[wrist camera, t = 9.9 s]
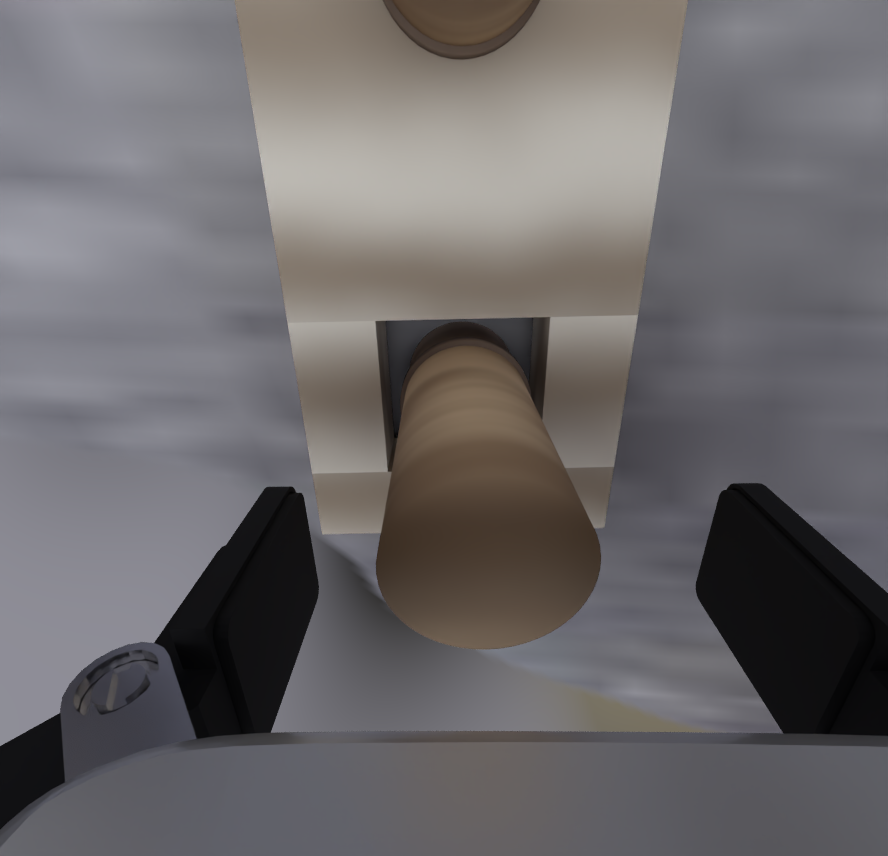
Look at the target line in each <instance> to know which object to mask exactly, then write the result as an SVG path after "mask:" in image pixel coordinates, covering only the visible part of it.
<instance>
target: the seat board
mask: <svg viewBox="0 0 888 856" xmlns="http://www.w3.org/2000/svg"><path fill="white" fill-rule="evenodd" d="M687 2H688V0H235V5H236V11H237V18H238V24H239V30H240V36H241V42H242V48H243V54H244V60H245V66H246V72H247V79H248V85H249V91H250V97H251V103H252V109H253V115H254V121H255V127H256V133H257V140H258V146H259V152H260V158H261V164H262V170H263V176H264V182H265V188H266V194H267V201H268V207H269V213H270V219H271V225H272V231H273V237H274V243H275V249H276V255H277V262H278V268H279V274H280V280H281V286H282V292H283V298H284V304H285V310H286V316H287V323H288V329H289V335H290V341H291V347H292V353H293V359H294V365H295V371H296V377H297V384H298V390H299V396H300V402H301V408H302V414H303V420H304V426H305V432H306V438H307V445H308V451H309V457H310V463H311V469H312V475H313V481H314V487H315V493H316V499H317V506H318V512H319V518H320V524H321V530H322V534H358V533H381V530H382V524H383V518H384V513H385V507H386V501H387V495H388V490H389V484H390V478H391V473H392V467H393V461H394V456H395V450H396V444H397V438H394V429H393V415H392V401H391V388H390V374H389V360H388V347H387V333H386V321H394V320H439V319H484V318H530V317H533V329H532V345H531V361H530V377H529V387H530V391H531V398H532V400H533V402H534V405H535V407H536V409H537V411H538V413H539V415H540V417H541V419H542V421H543V423H544V425H545V427H546V430H547V432H548V434H549V436H550V438H551V440H552V442H553V444H554V446H555V448H556V450H557V452H558V454H559V457H560V459H561V461H562V463H563V465H564V467H565V469H566V471H567V473H568V475H569V477H570V479H571V482H572V484H573V486H574V488H575V490H576V492H577V494H578V496H579V498H580V500H581V502H582V504H583V506H584V509H585V511H586V513H587V515H588V517H589V519H590V521H591V523H592V525H593V527H594V528H604V527H605V520H606V514H607V508H608V502H609V495H610V489H611V483H612V476H613V470H614V464H615V457H616V451H617V445H618V438H619V432H620V426H621V419H622V413H623V407H624V400H625V394H626V388H627V381H628V375H629V369H630V363H631V356H632V350H633V344H634V337H635V331H636V325H637V318H638V312H639V306H640V299H641V293H642V287H643V280H644V274H645V268H646V261H647V255H648V249H649V243H650V236H651V230H652V224H653V217H654V211H655V205H656V198H657V192H658V186H659V179H660V173H661V167H662V160H663V154H664V148H665V141H666V135H667V129H668V122H669V116H670V110H671V104H672V97H673V91H674V85H675V78H676V72H677V66H678V59H679V53H680V47H681V40H682V34H683V28H684V21H685V15H686V9H687Z"/></svg>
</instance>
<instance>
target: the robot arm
mask: <svg viewBox="0 0 888 856" xmlns="http://www.w3.org/2000/svg"><path fill="white" fill-rule="evenodd" d="M318 590H319V585H318V578H317V573H316V566H315V560H314V554H313V549H312V543H311V537H310V531H309V525H308V519H307V513H306V508H305V502H304V497H303V495H302V493H296V491H295V489H294V488H293V487H266V488H265V489H264V491H263V492H262V493H261V495H260V496H259V498H258V499H257V501H256V502H255V504H254V505H253V507H252V508H251V510H250V511H249V512H248V514H247V515H246V517H245V518H244V520H243V521H242V523H241V524H240V526H239V527H238V529H237V530H236V531H235V533H234V534H233V536H232V537H231V539H230V540H229V542H228V543H227V545H226V546H223V547H222V548H221V549H220V550H219V551H218V552H217V553H216V555H215V556H214V558H213V559H212V561H211V562H210V564H209V565H208V566H207V568H206V569H205V571H204V572H203V573H202V575H201V577H200V578H199V579H198V581H197V582H196V584H195V585H194V586H193V588H192V589H191V591H190V592H189V594H188V595H187V597H186V598H185V599H184V601H183V603H182V604H181V605H180V607H179V608H178V610H177V611H176V612H175V614H174V615H173V617H172V618H171V620H170V621H169V623H168V624H167V625H166V627H165V628H164V630H163V631H162V633H161V634H160V636H159V637H158V638H157V640H156V641H155V643H147V642H140V643H135V644H129V645H125V646H123V647H120V648H118V649H115V650H112V651H110V652H109V653H107V654H105V655H103V656H101V657H100V658H98V659H96V660H95V661H93V662H92V663H91V664H90V665H88V666H87V667H86V668H84V669H83V670H82V671H81V672H80V673H79V674H78V675H77V676H76V678H75V679H74V680H73V681H72V682H71V683H70V684H69V686H68V688H67V690H66V692H65V693H64V695H63V697H62V702H61V708H60V713H59V714H57V715H56V716H54V717H52V718H51V719H49V720H47V721H45V722H43V723H42V724H39V725H38V726H36V727H34V728H32V729H30V730H29V731H27V732H25V733H23V734H22V735H20V736H18V737H16V738H14V739H12V740H11V741H9V742H7V743H5V744H3V745H2V746H0V856H888V593H887V592H886V591H885V590H884V589H882V588H881V587H880V586H879V585H878V584H877V583H876V582H874V581H873V580H872V579H871V578H870V577H869V576H868V575H866V574H865V573H864V572H863V571H862V570H861V569H860V568H858V567H857V566H856V565H855V564H854V563H853V562H852V561H850V560H849V559H848V558H847V557H846V556H845V555H844V554H842V553H841V552H840V551H839V550H838V549H837V548H836V547H835V546H833V545H832V544H831V543H830V542H829V541H828V540H827V539H825V538H824V537H823V536H822V535H821V534H820V533H819V532H817V531H816V530H815V529H814V528H813V527H812V526H811V525H809V524H808V523H807V522H806V521H805V520H804V519H803V518H801V517H800V516H799V515H798V514H797V513H796V512H795V511H793V510H792V509H791V508H790V507H789V506H788V505H787V504H785V503H784V502H783V501H782V500H781V499H780V498H779V497H777V496H776V495H775V494H774V493H773V492H772V491H771V490H769V489H768V488H767V487H766V486H764V485H763V484H759V483H739V484H731V485H730V486H729V487H728V488H727V490H724V491H722V492H721V493H720V495H719V499H718V502H717V506H716V510H715V514H714V517H713V521H712V525H711V529H710V532H709V536H708V540H707V544H706V547H705V551H704V555H703V559H702V562H701V566H700V570H699V574H698V577H697V581H696V593H697V596H698V599H699V601H700V602H701V604H702V606H703V607H704V609H705V610H706V612H707V614H708V615H709V617H710V618H711V620H712V621H713V623H714V625H715V626H716V628H717V629H718V631H719V632H720V634H721V636H722V637H723V639H724V640H725V642H726V643H727V645H728V647H729V648H730V650H731V651H732V653H733V654H734V656H735V658H736V659H737V661H738V662H739V664H740V666H741V667H742V669H743V670H744V672H745V673H746V675H747V677H748V678H749V680H750V681H751V683H752V684H753V686H754V688H755V689H756V691H757V692H758V694H759V695H760V697H761V699H762V700H763V702H764V703H765V705H766V707H767V708H768V710H769V711H770V713H771V714H772V716H773V718H774V719H775V721H776V722H777V724H778V725H779V727H780V729H781V730H782V732H783V733H784V734H778V733H692V732H691V733H689V732H550V731H549V732H547V731H546V732H544V731H540V732H539V731H341V732H284V733H271V730H272V727H273V724H274V722H275V719H276V716H277V713H278V710H279V707H280V705H281V702H282V699H283V696H284V693H285V690H286V687H287V685H288V682H289V679H290V676H291V673H292V670H293V668H294V665H295V662H296V659H297V656H298V653H299V651H300V648H301V645H302V642H303V639H304V636H305V633H306V631H307V628H308V625H309V622H310V619H311V616H312V614H313V611H314V608H315V605H316V602H317V599H318V592H319V591H318Z"/></svg>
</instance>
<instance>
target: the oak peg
mask: <svg viewBox="0 0 888 856" xmlns="http://www.w3.org/2000/svg"><path fill="white" fill-rule="evenodd" d="M400 409H401V421H400V427H399V433H398V438H397V444H396V450H395V456H394V461H393V467H392V473H391V478H390V484H389V490H388V495H387V501H386V507H385V513H384V518H383V524H382V530H381V535H380V541H379V547H378V553H377V560H376V575H377V580H378V585H379V588H380V590H381V593H382V596H383V597H384V599H385V601H386V603H387V604H388V606H389V607H390V609H391V610H392V611H393V612H394V614H395V615H396V616H397V617H398V618H399V619H400V620H401V621H402V622H404V623H405V624H406V625H407V626H409V627H410V628H411V629H413V630H414V631H416V632H418V633H419V634H421V635H423V636H425V637H427V638H429V639H432V640H434V641H437V642H440V643H443V644H446V645H450V646H455V647H460V648H468V649H499V648H505V647H512V646H516V645H520V644H524V643H527V642H530V641H532V640H535V639H538V638H540V637H542V636H544V635H546V634H548V633H550V632H552V631H554V630H555V629H557V628H559V627H560V626H562V625H563V624H564V623H565V622H567V621H568V620H569V619H571V618H572V617H573V616H574V615H575V614H576V613H577V612H578V611H579V610H580V609H581V607H582V606H583V605H584V604H585V602H586V601H587V600H588V598H589V596H590V595H591V593H592V591H593V589H594V587H595V584H596V582H597V579H598V575H599V571H600V564H601V552H600V544H599V541H598V537H597V534H596V532H595V529H594V527H593V525H592V523H591V521H590V519H589V517H588V515H587V513H586V511H585V509H584V506H583V504H582V502H581V500H580V498H579V496H578V494H577V492H576V490H575V488H574V486H573V484H572V482H571V479H570V477H569V475H568V473H567V471H566V469H565V467H564V465H563V463H562V461H561V459H560V457H559V454H558V452H557V450H556V448H555V446H554V444H553V442H552V440H551V438H550V436H549V434H548V432H547V430H546V427H545V425H544V423H543V421H542V419H541V417H540V415H539V413H538V411H537V409H536V407H535V405H534V402H533V400H532V398H531V391H530V387H529V383H528V380H527V378H526V376H525V374H524V372H523V370H522V368H521V366H520V365H519V363H518V362H517V360H516V359H515V358H514V357H513V356H512V355H511V354H510V353H509V350H508V348H507V346H506V345H505V343H504V342H503V341H502V339H501V338H500V337H499V336H498V335H497V334H495V333H494V332H493V331H491V330H490V329H488V328H486V327H484V326H482V325H479V324H476V323H471V322H453V323H448V324H445V325H442V326H440V327H438V328H436V329H434V330H433V331H431V332H430V333H429V334H427V335H426V336H425V337H424V338H423V339H422V341H421V342H420V343H419V344H418V346H417V348H416V349H415V351H414V354H413V356H412V360H411V364H410V368H409V370H408V372H407V374H406V376H405V379H404V382H403V386H402V391H401V397H400Z"/></svg>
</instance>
